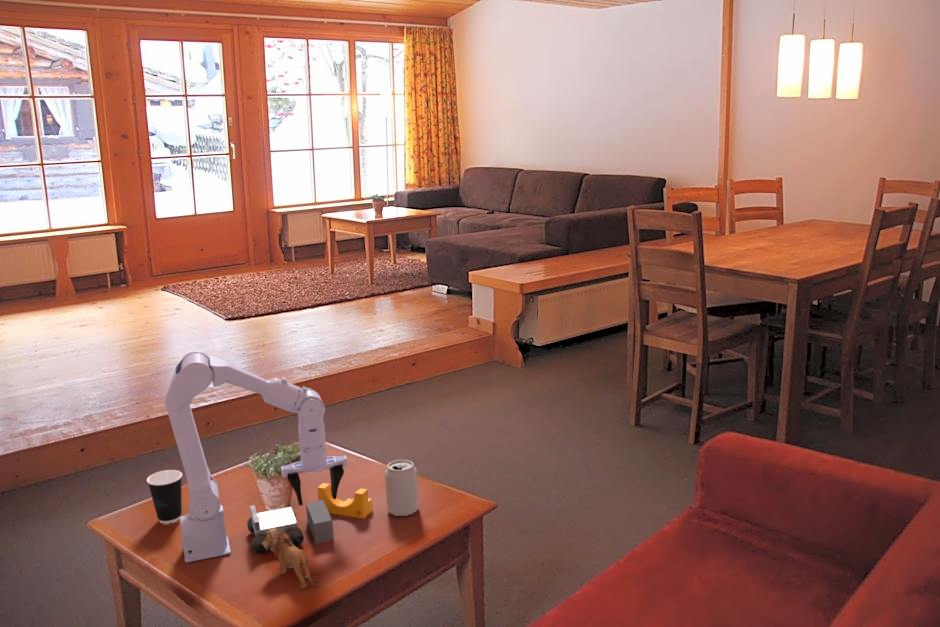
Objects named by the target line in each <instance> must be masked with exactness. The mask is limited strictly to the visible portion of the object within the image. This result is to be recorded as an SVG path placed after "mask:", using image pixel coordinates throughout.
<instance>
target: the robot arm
mask: <svg viewBox="0 0 940 627" xmlns="http://www.w3.org/2000/svg"><path fill="white" fill-rule="evenodd" d="M211 384H212V385H213V388H216V387H220V386H222V385H225V384H229V385H230V384H231V385H233V386H236V387H239V388H242V389H245V390H247V391H250V392H253V393H256V394H259V395H261V396H262V399H263V401H264V403H266V404H269V405H272V406H275V407H276V408H279V409H282V410H284V411H287V412H289V413H292V414H293V413H294V414H297V416H298V425H297V427H298V430H297V431H298V442H299V452H300V460H299V461H296V462H293V463H290V464H286V465H282V466H280V470H281V472H280V474H281V477H282V478H287V480H288V482H289V484H290V486H291V487H292V488H293V491H294V492H295V495H296V499H297V504H298V506H303V499H302V498H303V497H302V489H301V488H302V487H301V484H302V483H301V482H302V481H301V478H300V475H299V474H303V473H304V474H306V473H320V472H322V471H323V470H328V469H329V476H330V486H331V494H332V497H333V499H336V497H337V496H338V491H339V490H338V489H339V487H340V486H339V485H340V482H341V480H342V478H343V477H344V472H345V469H344V468H346V467H348V465H349V464H348V458H347V456H346V455H339V456H338V455H337V456H328V455H327V445H326V444H327V442H326V430H325V422H324V415H325V413H326V407H325V405H324V402H323V400H322V398H321V396H320V394H319V393H318V392H317V391H316V390H314V389H313V388H309V387H306V386H302V387H299V386H298V385H296V384H293V383H291V382H289V381H288V379H287V378H286V377H281V378H278V377H273V378H270V379H265V378H263V377H261V376H259V375H257V374H255V373H252V372H250V371H248V370H245V369H244V368H241V367H239V366H237V365H234V364H233V363H230V362H227V361H225V360H223V359H222V358H219V357H217V356H215V355H211V354H210V355H209V356H208V355H207V354H206V353H204V352H202V351H198V350H197V351H191V352H188V353H187V354H185V355H184V356H183V357H182V359H181V360H180V361H179V362H178V363H177V364H176V366H175V369H174V372H173V375H172V378H171V380H170V383H169V385H168V388H167V391H166V393H165V398H164V404H165V407H166V411H167V414H168V418H169V421H170V422H169V423H170V424H171V427H172V428H171V429H172V432H173V436H174V439H175V442H176V445H177V449H178V453H179V456H180V459H181V462H182V466H183V469H184V473H185V477H186V479H187V486H188V492H189V507H188V508H189V511H188V513H187V514H185V515H182V516H181V517H180V520H179V523H180V524H179V526H180V532H181V539H182V541H181V542H180V544H181V550H182V551H183V555H184V562H185V563H191V562H197V561H202V560H205V559H211V558H216V557H222V556H226V555H231V553H232V551H231V546H230V542H229V537H228V535H227V530H226V528H227V527H226V523H225V522H226V519H225V512H224V507H223V505H222V504H221V500H220V494H219V493H220V492H219V490H220V487H219V484H218V481H216V480H215V478H214V477H213V475H211V474H212V473H211V470H210V469H209V467H208V466H209V465H208V464H207V460H206V457H205V454H204V449H203V445H202V443H201V439H200V436H199V432H198V429H197V428H198V427H197V425H196V421H195V418H194V414H193V412H192V407H191V403H192V402H193V400H194V399H195V398H196V397H197V396H198V395H199V394H201V393H202V392H203V391H205V390H207V389H208V388H209V386H210V385H211ZM337 498H338V497H337Z"/></svg>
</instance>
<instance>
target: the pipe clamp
mask: <svg viewBox="0 0 940 627" xmlns="http://www.w3.org/2000/svg"><path fill="white" fill-rule="evenodd" d="M368 490H369V489H367V488H361V487H360V488H359V489H357V490H356V491H355V492H354V498H347V499H346V500H342V499H339V497H336V499H333V497H332V494H331V483H327V482H322V483H321V484H320V485H319V486H318V487H317V497H318V498H317V499H318V500H317V501H319V500H323V501H324V503H325V505H326V508H327V510H328V512H329V514H330V513H332V515H336V514H338V516H343V515H344V517H348V518H349V517H350V518H355V517H357V518H356V519H361V518H364V519H366V518H367V517H368V516H369V515H370V514H371V513H372V512H373V499H372V498H370V497H369V492H368ZM368 514H369V515H368ZM367 515H368V516H367ZM366 516H367V517H366ZM365 517H366V518H365Z"/></svg>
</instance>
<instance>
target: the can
mask: <svg viewBox="0 0 940 627" xmlns="http://www.w3.org/2000/svg"><path fill="white" fill-rule="evenodd" d="M384 477H385V478H384V479H385V480H384V484H385V497H386V498H385V499H386V509H387V512H388V513H389V514H391V515H392V514H393V515H392V516H394V515H395V516H394V517H397V516H406V517H409V516H408V515H410V516H412V515H414V514H415V513H416V512H417V511H418V510H419V507H420V504H419V503H420V502H419V501H420V500H419V486H418V483H419V482H418V469H417V468H416V467H415V464H414V462H413V461H411V460H408V459H396V460H392V461H391V462H389V463H388V464H387V465H386V469H385V470H384ZM414 512H415V513H414ZM413 513H414V514H413ZM411 514H412V515H411Z"/></svg>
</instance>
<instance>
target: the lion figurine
mask: <svg viewBox="0 0 940 627" xmlns="http://www.w3.org/2000/svg"><path fill="white" fill-rule="evenodd" d="M268 531H269V534H268V535H267V537H266V539H265V540H264V541H263V542H262V545H263V546H264V547H265V549H266V550H267V549H269V548H270V552H273V553H274V555H275V557H276V558H278V565H279V566H280V570H278V575H284V574H286V572H287V568H288V569H294V572H295V574H296V576H297V578H298V579H299V580H300V582H301V584H300V585H299V588H300V589H305V588H306V587H307V582H306V579H308V580H309V581H310V582H311V583H312V584H313V586H319V583H318V582H317V581H315V580H314V579H312V576H311V572H310V564H309V562H310V560H309V556H308V555H307V553H306V551H305V550H304V549H301V548H298V546H297V547H296V546H294V545H293V543H292V540H291V539H290V538H289V536H288V535H286V532H283V531H282V530H280V529H275V528H274V529H270V530H268ZM285 561H286V562H287V563H288V565H287V568H286V565H285ZM302 566H303V568H304V571H305V574H304V576H303V573H302ZM305 578H306V579H305Z"/></svg>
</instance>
